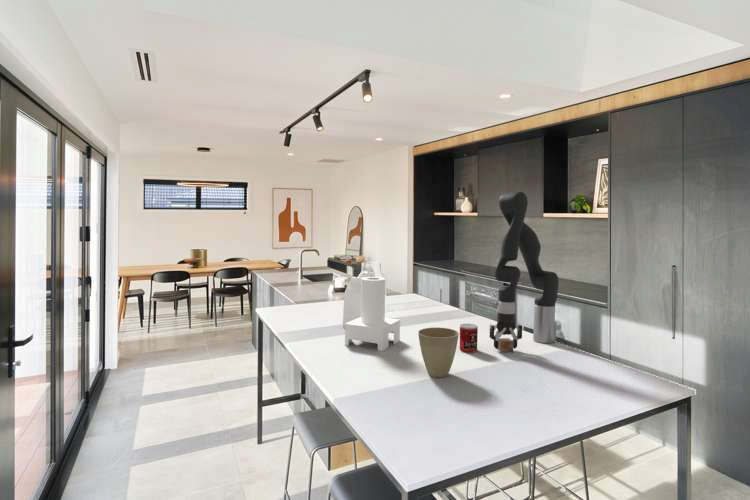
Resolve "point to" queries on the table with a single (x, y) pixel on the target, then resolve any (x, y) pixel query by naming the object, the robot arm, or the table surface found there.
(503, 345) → the walnut cube
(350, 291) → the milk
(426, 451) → the table surface
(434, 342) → the plant pot
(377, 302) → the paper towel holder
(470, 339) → the canned food
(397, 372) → the table surface
